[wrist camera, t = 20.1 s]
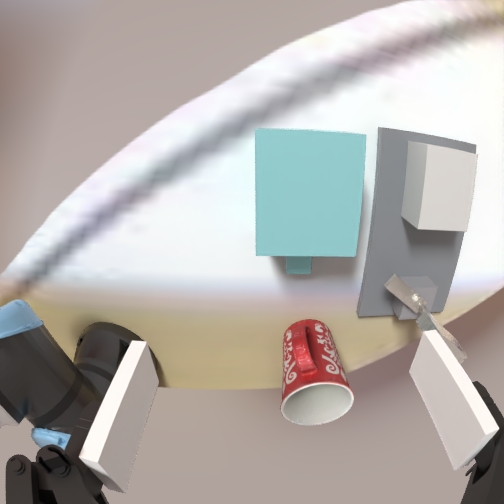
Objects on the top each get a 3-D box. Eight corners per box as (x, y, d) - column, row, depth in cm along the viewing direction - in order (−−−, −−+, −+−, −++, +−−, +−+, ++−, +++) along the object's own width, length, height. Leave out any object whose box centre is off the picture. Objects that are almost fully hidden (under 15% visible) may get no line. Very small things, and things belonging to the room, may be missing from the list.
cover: (258, 262, 40) (255, 299, 32) (257, 128, 33) (255, 129, 25) (333, 262, 40) (349, 299, 32) (342, 131, 33) (366, 134, 25)
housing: (356, 311, 43) (367, 338, 37) (378, 127, 32) (398, 129, 27) (439, 307, 42) (456, 329, 36) (471, 143, 32) (498, 150, 26)
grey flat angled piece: (428, 322, 38) (457, 367, 29) (384, 284, 35) (412, 332, 27) (438, 312, 37) (468, 356, 28) (394, 273, 35) (426, 318, 26)
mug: (340, 351, 46) (356, 416, 34) (285, 364, 47) (289, 431, 35) (327, 286, 41) (347, 352, 29) (264, 302, 43) (262, 371, 30)
